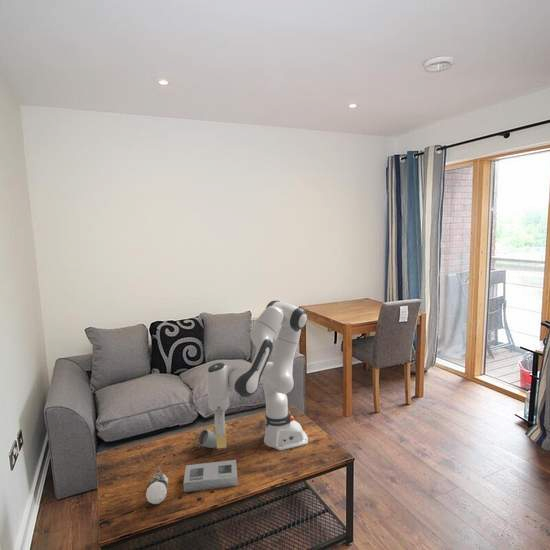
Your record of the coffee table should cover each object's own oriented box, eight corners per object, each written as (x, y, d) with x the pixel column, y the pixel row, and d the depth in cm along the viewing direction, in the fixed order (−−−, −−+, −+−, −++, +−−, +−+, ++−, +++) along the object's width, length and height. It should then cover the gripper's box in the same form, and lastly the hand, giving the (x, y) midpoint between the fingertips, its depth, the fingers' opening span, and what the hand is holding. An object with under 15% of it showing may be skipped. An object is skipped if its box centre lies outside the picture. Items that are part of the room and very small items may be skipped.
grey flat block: (236, 468, 169) (236, 459, 169) (237, 485, 158) (237, 476, 157) (186, 473, 166) (185, 465, 166) (183, 492, 154) (183, 482, 154)
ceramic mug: (213, 452, 185) (222, 441, 184) (199, 449, 181) (209, 437, 179) (208, 435, 194) (217, 424, 193) (195, 431, 189) (204, 420, 188)
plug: (226, 442, 164) (225, 422, 163) (226, 447, 160) (225, 427, 159) (214, 443, 163) (213, 424, 162) (214, 448, 159) (213, 428, 158)
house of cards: (142, 495, 153) (141, 478, 152) (148, 482, 162) (147, 465, 161) (164, 494, 154) (163, 476, 153) (169, 480, 162) (168, 463, 162)
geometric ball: (168, 505, 147) (167, 486, 146) (147, 511, 144) (146, 492, 143) (166, 493, 154) (165, 474, 153) (145, 499, 151) (144, 480, 150)
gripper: (226, 413, 149) (228, 445, 151) (226, 391, 169) (228, 420, 171) (210, 414, 149) (212, 447, 150) (212, 393, 169) (214, 422, 170)
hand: (221, 433), depth 161 cm, fingers closed on plug, 4 cm apart
